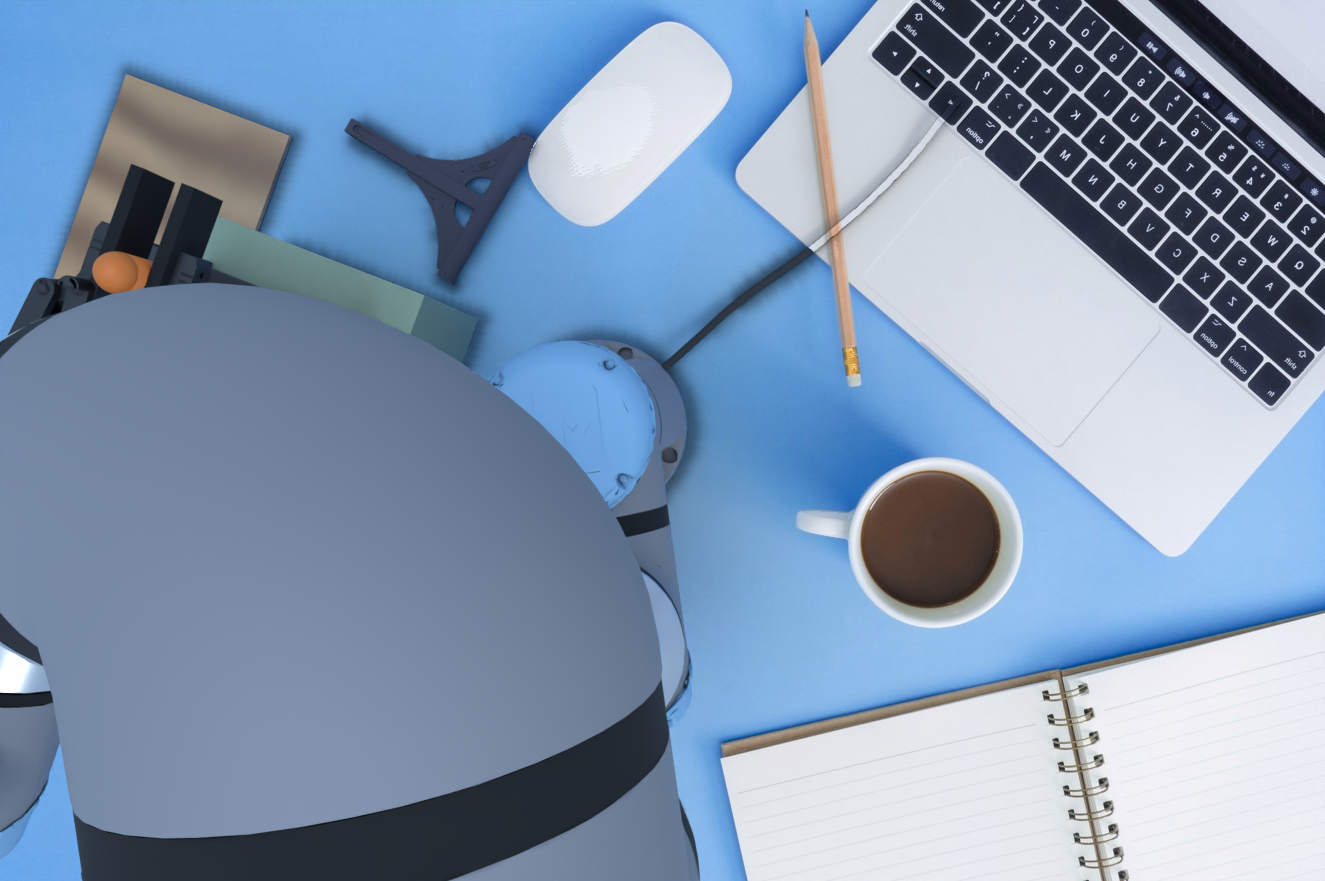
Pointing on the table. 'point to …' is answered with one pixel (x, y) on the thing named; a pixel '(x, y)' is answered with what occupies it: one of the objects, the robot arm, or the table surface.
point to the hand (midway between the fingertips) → (178, 183)
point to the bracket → (455, 189)
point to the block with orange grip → (139, 272)
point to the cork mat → (177, 161)
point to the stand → (336, 285)
